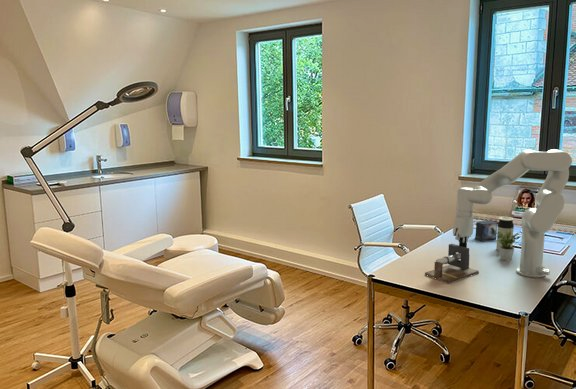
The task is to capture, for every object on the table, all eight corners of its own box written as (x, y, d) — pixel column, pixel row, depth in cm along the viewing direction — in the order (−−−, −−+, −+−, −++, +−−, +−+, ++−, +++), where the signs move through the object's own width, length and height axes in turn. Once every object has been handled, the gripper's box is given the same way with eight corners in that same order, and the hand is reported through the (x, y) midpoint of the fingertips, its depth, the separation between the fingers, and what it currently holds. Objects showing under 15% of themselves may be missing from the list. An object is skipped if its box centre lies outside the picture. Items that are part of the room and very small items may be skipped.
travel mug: (509, 247, 273) (511, 216, 270) (514, 252, 266) (516, 219, 262) (494, 247, 274) (496, 216, 271) (499, 251, 266) (500, 219, 263)
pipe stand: (478, 273, 235) (479, 253, 233) (448, 283, 223) (449, 263, 221) (454, 265, 247) (455, 247, 245) (424, 274, 235) (425, 255, 233)
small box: (481, 241, 287) (482, 224, 285) (474, 238, 293) (475, 221, 291) (496, 239, 290) (497, 222, 288) (489, 236, 296) (490, 219, 294)
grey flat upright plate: (468, 268, 233) (469, 248, 231) (465, 269, 232) (466, 249, 230) (451, 263, 242) (451, 243, 240) (447, 264, 240) (448, 244, 238)
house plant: (525, 264, 245) (528, 233, 242) (496, 263, 248) (498, 232, 245) (518, 256, 259) (520, 226, 256) (490, 254, 262) (492, 225, 259)
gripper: (467, 209, 241) (465, 245, 244) (447, 214, 233) (446, 250, 236) (481, 212, 235) (478, 249, 238) (461, 216, 227) (459, 254, 230)
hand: (462, 249), depth 237 cm, fingers closed
